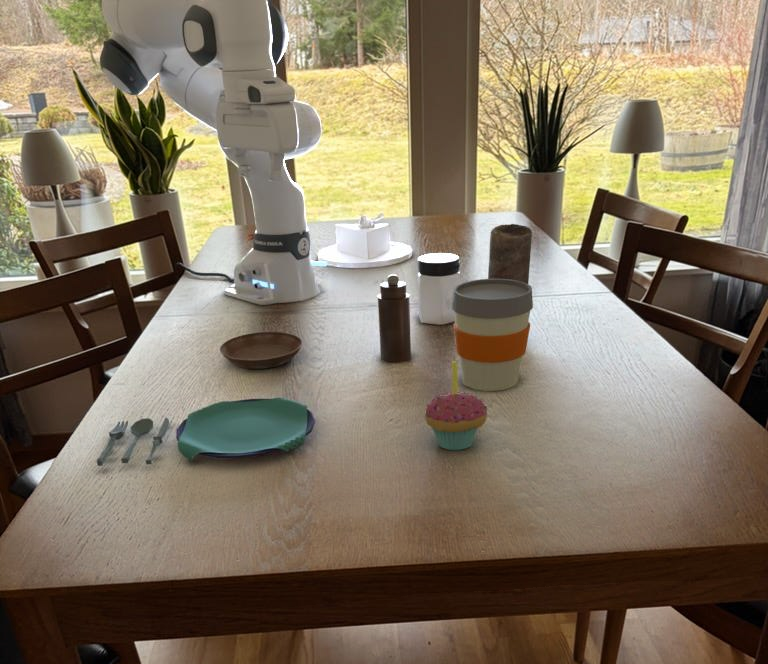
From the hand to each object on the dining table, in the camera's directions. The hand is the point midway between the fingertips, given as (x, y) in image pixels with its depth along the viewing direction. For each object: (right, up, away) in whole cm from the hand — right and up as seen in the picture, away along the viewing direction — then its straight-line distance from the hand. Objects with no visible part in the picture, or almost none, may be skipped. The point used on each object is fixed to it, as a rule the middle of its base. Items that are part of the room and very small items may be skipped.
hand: (260, 178), depth 140 cm
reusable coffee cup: (+39, -38, -10) cm, 56 cm away
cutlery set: (-3, -49, -25) cm, 55 cm away
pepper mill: (+24, -32, +1) cm, 40 cm away
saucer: (0, -32, +3) cm, 32 cm away
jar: (+33, -20, +20) cm, 43 cm away
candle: (+44, -28, +6) cm, 53 cm away
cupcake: (+32, -50, -30) cm, 66 cm away
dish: (+17, +8, +69) cm, 72 cm away
